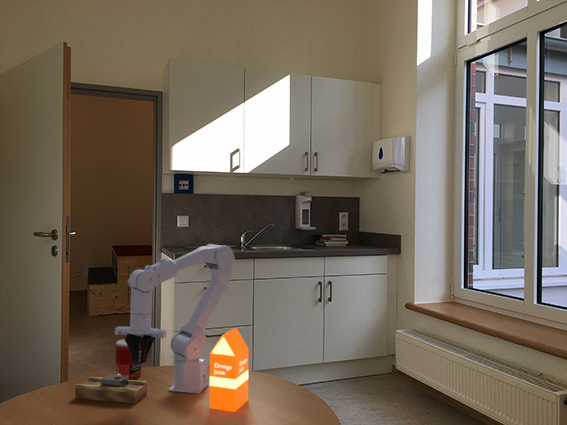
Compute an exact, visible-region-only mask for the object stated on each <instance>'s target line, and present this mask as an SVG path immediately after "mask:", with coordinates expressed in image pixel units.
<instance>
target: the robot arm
mask: <svg viewBox="0 0 567 425" xmlns="http://www.w3.org/2000/svg"><path fill="white" fill-rule="evenodd" d="M235 260H236V258H235V255H234V250H233V249H232V247H230V246H229V245H219V244H214V243H208V244H206V245H205V246H204V245H202V246H199V247H198V248H196V249H194V250H193V251H190V252H188V253H186V254H183V255H182V256H179V257H178V258H176V259H171V258H160V259H159V261H158V262H156V263H153V264H152V265H149V264H148V265H145V266H144V269H135V270H134V271H132V272H131V274H130V275H129V277H128V279H127V285H128V286H129V287H130V289H131V290H130V309H129V310H130V312H129V313H130V316H129V326H117V327H114V335H115V336H118V335H121V336H123V335H125V336H126V337H124V339H125V342H126V343H127V345H128V347H129V350H130V353H131V356H132V361H133V363H135V362H137V361H138V359H139V345H140V348H141V364H144V363H145V364H146V363H147V361H148V360H147V359H148V355H149V354H150V350H151V348H152V345H153V343H154V342H155V340H156V338H159V339H165V338H166V337H167V329H161V328H155V327H152V315H153V314H152V313H153V311H152V310H153V290H154V289H155V288H156V286H157V285H160V284H163V282H166V281H167V282H168V280H171V279H174V278H175V277H176V276H177V274H178V272H179V271H181V270H184V269H186V268H188V267H191V266H193V265H194V266H195V265H196V264H200V263H202V262H203V263H204V264H205V265H206V267H207V268H208V269H209V272H210V275H211V278H210V280H209V282H208V284H207V285H206V288H205V289H204V292H203V293H202V296H201V297H200V299H199V301H198V303H197V305H196V306H195V309H194V310H193V313H192V314H191V317H190V318H189V320H188V322H187V323H185V324H184V325H183V326H181V327H180V329H179V330H178V332H177V333H176V334H174V335H173V336H172V338H171V340H170V348H171V350H172V351H173V353H174V359H173V360H174V363H173V364H174V365H173V369H174V371H173V377H174V378H173V380H174V381H173V385H172V386H171V387H169V389H168V391H169V392H178V393H188V394H189V393H190V394H201V392H202V391H203V390H204V389H205V388H206V387H207V386H208V385H209V383H208V378H209V377H208V370H209V367H208V360H207V359H205V358H202V357H201V356H202V354H203V352H204V347H205V342H206V341H207V336H206V332H205V331H206V329H207V326H208V324H209V323H210V320H211V318H212V317H213V314H214V312H215V310H216V309H217V306H218V304H219V303H220V301H221V299H222V297H223V294H224V293H225V290H226V289H227V287H228V285H229V283H230V281H231V278H232V270H233V265H234V263H235Z"/></svg>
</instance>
